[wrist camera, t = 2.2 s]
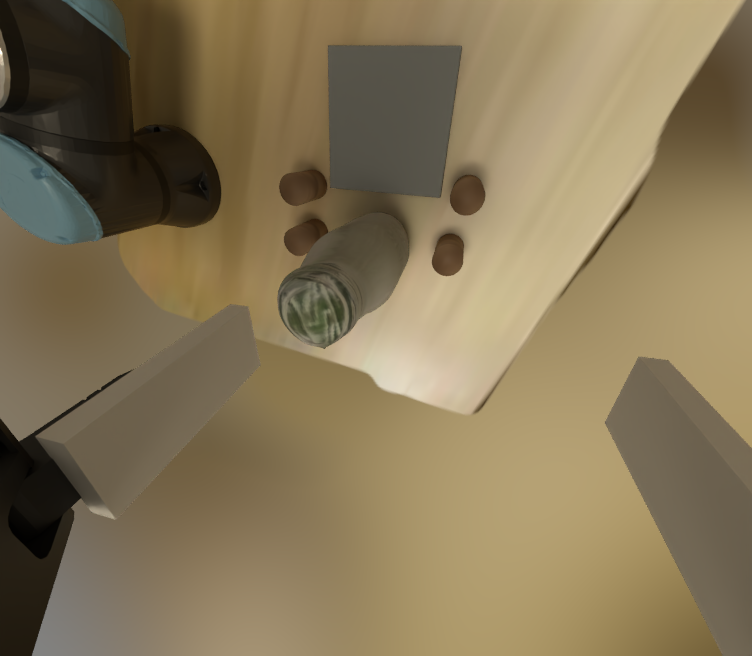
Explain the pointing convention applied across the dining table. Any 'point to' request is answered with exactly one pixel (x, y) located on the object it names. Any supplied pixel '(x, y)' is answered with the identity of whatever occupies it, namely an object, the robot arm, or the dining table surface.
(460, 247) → the cylinder
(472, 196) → the cylinder
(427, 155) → the mat
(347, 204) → the dining table surface
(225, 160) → the dining table surface
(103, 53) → the robot arm
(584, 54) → the dining table surface
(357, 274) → the grey ceramic vase
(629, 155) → the dining table surface
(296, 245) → the cylinder
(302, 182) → the cylinder
